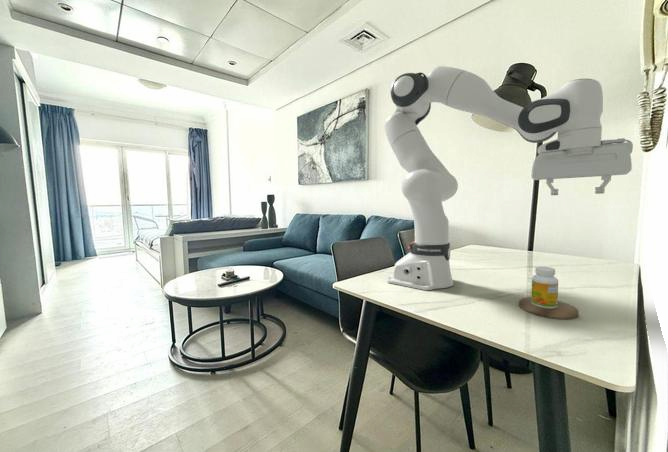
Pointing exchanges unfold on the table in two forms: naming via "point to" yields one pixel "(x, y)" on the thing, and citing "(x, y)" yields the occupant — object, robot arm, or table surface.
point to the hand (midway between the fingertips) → (576, 194)
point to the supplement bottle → (544, 288)
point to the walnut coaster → (550, 310)
